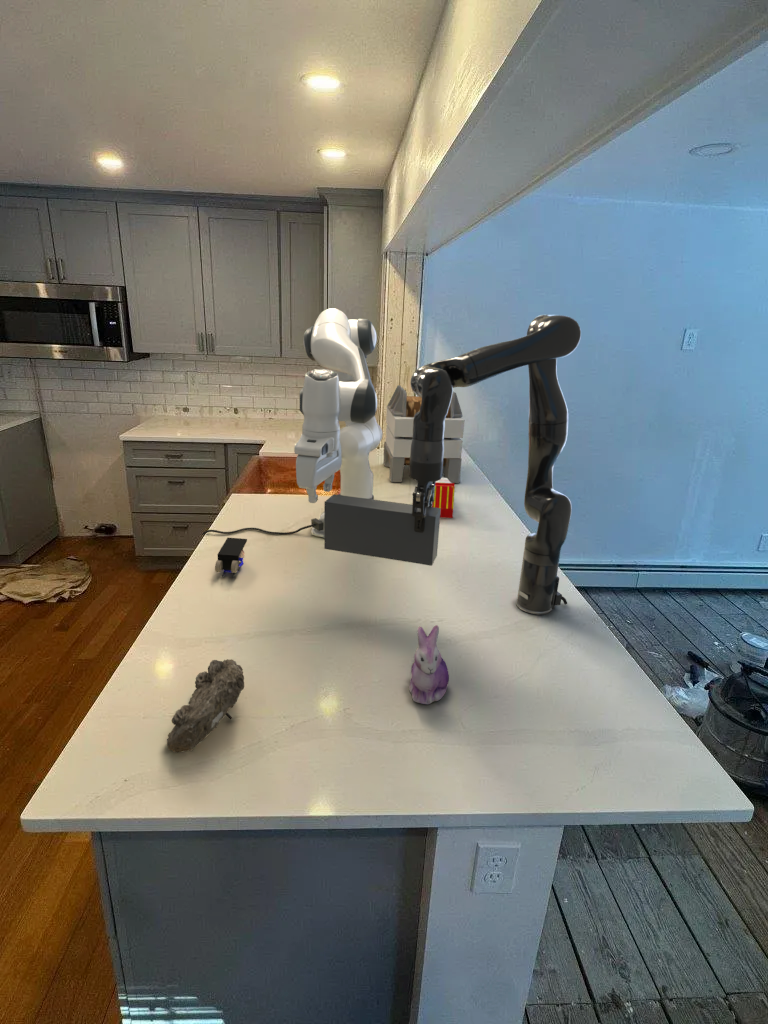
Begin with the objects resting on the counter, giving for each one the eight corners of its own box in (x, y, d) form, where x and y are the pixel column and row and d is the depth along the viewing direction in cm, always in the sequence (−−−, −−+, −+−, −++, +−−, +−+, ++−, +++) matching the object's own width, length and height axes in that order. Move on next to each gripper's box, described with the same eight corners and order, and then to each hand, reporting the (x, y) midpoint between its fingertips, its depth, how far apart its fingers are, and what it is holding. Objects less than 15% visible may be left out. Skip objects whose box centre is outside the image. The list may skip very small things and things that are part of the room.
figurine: (421, 712, 112) (426, 647, 106) (396, 683, 120) (400, 621, 115) (461, 699, 116) (467, 636, 111) (434, 672, 124) (439, 611, 119)
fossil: (192, 660, 117) (244, 628, 112) (224, 691, 120) (276, 661, 115) (142, 746, 98) (202, 712, 93) (182, 779, 101) (242, 748, 96)
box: (324, 548, 139) (324, 501, 135) (333, 539, 145) (333, 494, 141) (431, 565, 133) (435, 516, 128) (437, 555, 138) (440, 508, 134)
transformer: (382, 463, 289) (386, 382, 275) (445, 464, 293) (451, 384, 279) (390, 482, 257) (394, 392, 243) (460, 483, 261) (468, 394, 247)
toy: (448, 473, 241) (459, 484, 212) (446, 504, 244) (457, 519, 215) (419, 472, 241) (426, 483, 211) (418, 503, 243) (425, 518, 214)
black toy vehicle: (238, 584, 162) (249, 557, 175) (236, 562, 158) (247, 536, 172) (215, 584, 161) (227, 556, 175) (212, 561, 158) (225, 535, 171)
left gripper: (324, 431, 144) (324, 483, 149) (290, 448, 125) (291, 507, 130) (348, 433, 142) (347, 486, 147) (317, 451, 124) (316, 511, 128)
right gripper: (436, 467, 120) (431, 540, 126) (448, 452, 133) (443, 518, 139) (402, 463, 122) (399, 535, 128) (417, 449, 135) (413, 515, 141)
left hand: (320, 496), depth 138 cm, fingers open, 8 cm apart
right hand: (422, 526), depth 134 cm, fingers closed on box, 6 cm apart
